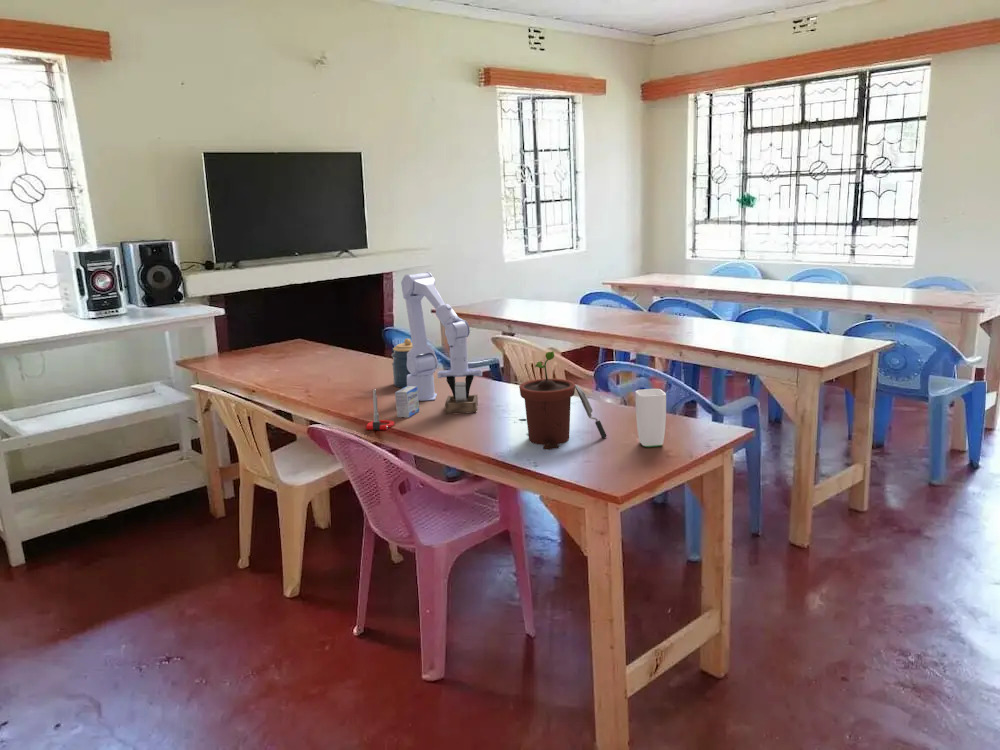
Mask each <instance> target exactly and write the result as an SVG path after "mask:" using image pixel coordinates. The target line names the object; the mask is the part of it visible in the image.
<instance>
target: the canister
mask: <svg viewBox="0 0 1000 750" xmlns="http://www.w3.org/2000/svg"><path fill="white" fill-rule="evenodd" d="M412 347H413V346H412V339H411V338H404V341H403V342H402V343H399V344H398V343H397V344H396V345H395V346H394V347H393V348H392V351H393V352H392V353H391V357H392V358H393V359H392V363H391V365H392V371H393V383H394V386H395V387H397V388H401V389H402V388H404V387H406V386H407V375H408V374H411V373H410V372H409V371H408V369H407V353H408V352H409V351H410V350H411V349H412ZM420 355H424V354H420ZM417 356H419V355H417Z"/></svg>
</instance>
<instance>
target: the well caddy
mask: <svg viewBox="0 0 1000 750" xmlns="http://www.w3.org/2000/svg"><path fill="white" fill-rule="evenodd" d="M467 399H468V402H456V399H454V396H453V395H447V397H446V399H445V402H444V408H445V415H453V413H460V414H467V413H466V412H476V411H477V410H478V407H477V406H479V400H478V399H479V397H478V394H469V398H467ZM476 413H477V412H476Z"/></svg>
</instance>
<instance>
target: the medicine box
mask: <svg viewBox="0 0 1000 750" xmlns="http://www.w3.org/2000/svg"><path fill="white" fill-rule="evenodd" d="M394 398H395V409H396V417H397V418H402V417H404V419H405V418H407V419H409V417H410V418H411V417H413V416H414V415H415V413H416V414H418V413H419V412H420V405H419V404H420V403H419V401H418V389H417V387H415V386H406V387H404V388H402V387H401V389H398V390H397V391H395V392H394ZM412 415H413V416H412Z"/></svg>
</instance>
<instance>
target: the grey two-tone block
mask: <svg viewBox="0 0 1000 750" xmlns="http://www.w3.org/2000/svg"><path fill="white" fill-rule="evenodd" d="M455 398H456V402H468V399H467V398H466V381H455Z"/></svg>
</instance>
